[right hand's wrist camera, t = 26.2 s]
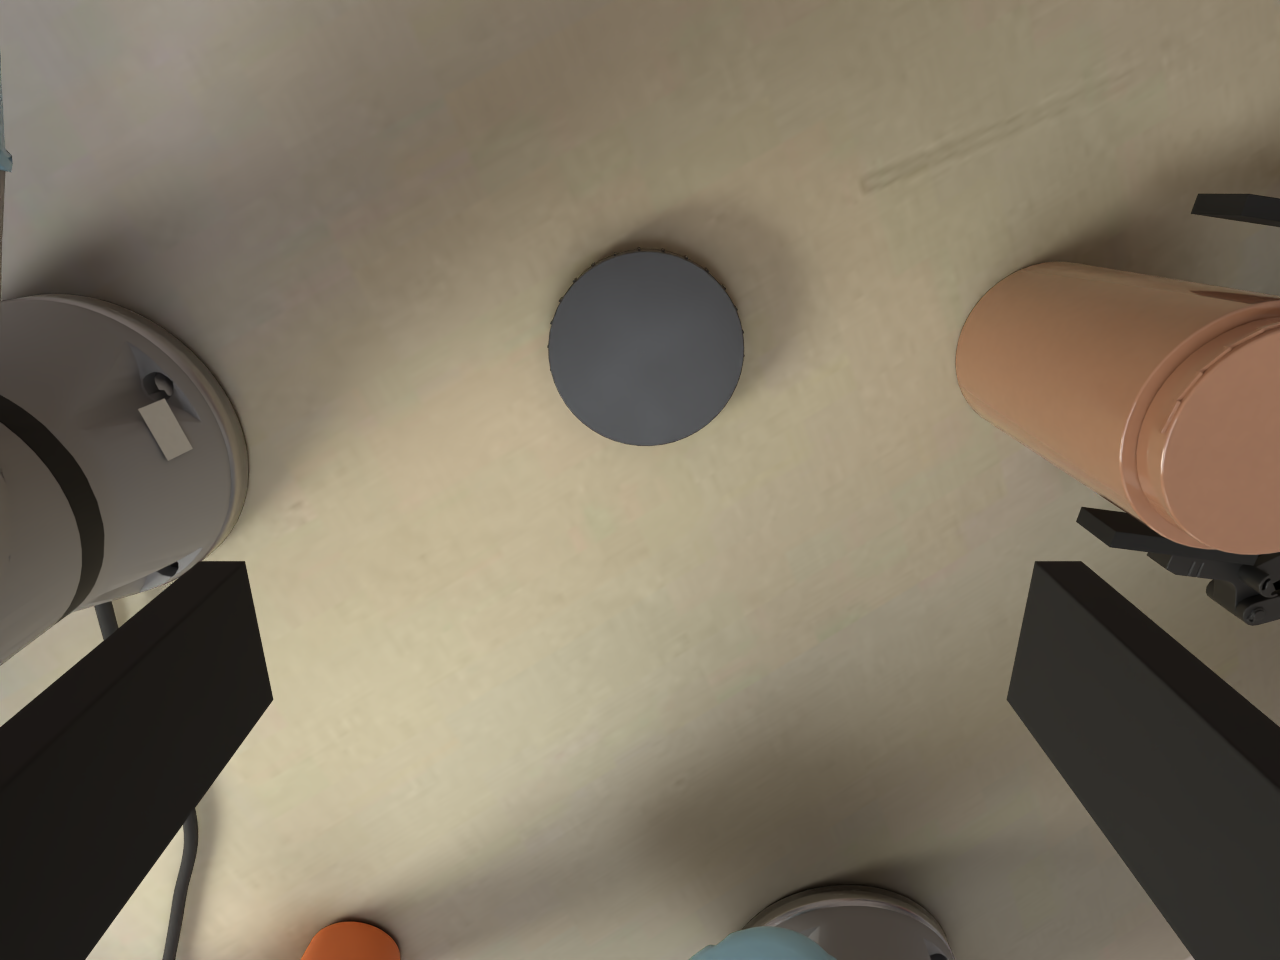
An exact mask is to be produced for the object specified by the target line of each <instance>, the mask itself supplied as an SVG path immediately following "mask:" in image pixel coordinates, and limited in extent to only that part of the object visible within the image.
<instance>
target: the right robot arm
mask: <svg viewBox="0 0 1280 960" xmlns="http://www.w3.org/2000/svg"><path fill="white" fill-rule="evenodd" d="M12 165H13V163H12V155H11V154H10V153H9V152H8V151H7V150H6V149H5V139H4V121H3V102H2V83H1V55H0V665H2V664H3V663H4V662H6V661H7V660H8V659H10V658H11V657H12V656H14V655H15V654H16V653H17V652H19V651H20V650H21V649H23V648H24V647H25V646H27V645H28V644H29V643H31V642H32V641H33V640H35V639H36V638H37V637H39V636H40V635H41V634H43V633H44V632H46V631H47V630H48V629H50V628H51V627H52V626H53V625H55V624H56V623H57V622H59V621H60V620H61V619H63V618H64V617H66V616H67V615H68V614H70V613H71V612H74V611H78V610H81V609H85V608H88V607H92V606H94V607H95V610H96V614H97V618H98V621H99V625H100V628H101V632H102V636H103V639H104V641H103V642H102V643H101V644H99V645H98V646H97V647H96V648H95V649H93V650H92V651H91V652H90V653H89V654H87V655H86V656H85V657H84V658H83V659H81V660H80V661H79V662H78V663H77V664H75V665H74V666H73V667H72V668H71V669H69V670H68V671H67V672H66V673H65V674H63V675H62V676H61V677H60V678H59V679H57V680H56V681H55V682H54V683H53V684H51V685H50V686H49V687H48V688H47V689H45V690H44V691H43V692H42V693H41V694H40V695H38V696H37V697H36V698H35V699H34V700H32V701H31V702H30V703H29V704H28V705H26V706H25V707H24V708H23V709H22V710H20V711H19V712H18V713H17V714H16V715H14V716H13V717H12V718H11V719H10V720H8V721H7V722H6V723H5V724H4V725H2V726H1V727H0V960H85V959H86V958H87V956H88V955H89V954H90V952H91V951H92V950H93V948H94V947H95V945H96V944H97V943H98V941H99V940H100V938H101V937H102V936H103V934H104V933H105V932H106V930H107V929H108V927H109V926H110V925H111V923H112V922H113V920H114V919H115V918H116V916H117V915H118V914H119V912H120V911H121V909H122V908H123V907H124V905H125V904H126V903H127V901H128V900H129V898H130V897H131V896H132V894H133V893H134V891H135V890H136V889H137V887H138V886H139V885H140V883H141V882H142V880H143V879H144V878H145V876H146V875H147V873H148V872H149V871H150V869H151V868H152V867H153V865H154V864H155V862H156V861H157V860H158V858H159V857H160V856H161V854H162V853H163V851H164V850H165V849H166V847H167V846H168V844H169V843H170V842H171V840H172V839H173V838H174V836H175V835H176V833H177V832H178V831H179V829H180V828H181V826H182V825H183V829H184V849H183V856H182V862H181V866H180V870H179V874H178V878H177V882H176V886H175V890H174V895H173V901H172V907H171V914H170V921H169V927H168V933H167V938H166V944H165V949H164V955H163V960H175V957H176V952H177V947H178V941H179V936H180V931H181V925H182V920H183V914H184V907H185V901H186V895H187V890H188V885H189V881H190V877H191V874H192V870H193V866H194V862H195V857H196V852H197V846H198V822H197V816H196V810H195V807H196V806H197V804H198V803H199V802H200V800H201V799H202V797H203V796H204V795H205V793H206V792H207V791H208V789H209V788H210V786H211V785H212V784H213V782H214V781H215V779H216V778H217V777H218V775H219V774H220V773H221V771H222V770H223V768H224V767H225V766H226V764H227V763H228V762H229V760H230V759H231V757H232V756H233V755H234V753H235V752H236V750H237V749H238V748H239V746H240V745H241V744H242V742H243V741H244V739H245V738H246V737H247V735H248V734H249V732H250V731H251V730H252V728H253V727H254V726H255V724H256V723H257V721H258V720H259V719H260V717H261V716H262V715H263V713H264V712H265V710H266V709H267V708H268V706H269V705H270V703H271V702H272V701H273V696H272V691H271V686H270V681H269V677H268V672H267V667H266V662H265V657H264V652H263V647H262V642H261V637H260V633H259V628H258V623H257V618H256V613H255V608H254V603H253V598H252V594H251V589H250V584H249V579H248V574H247V569H246V564H245V561H202V560H203V559H205V558H206V557H207V556H208V555H209V554H211V553H212V552H213V551H214V550H215V549H216V548H217V547H218V546H219V545H220V544H221V543H222V542H223V541H224V540H225V539H226V537H227V536H228V535H229V533H230V532H231V530H232V529H233V527H234V525H235V524H236V522H237V520H238V518H239V515H240V513H241V511H242V508H243V504H244V501H245V498H246V492H247V486H248V457H247V450H246V444H245V440H244V436H243V432H242V429H241V426H240V424H239V421H238V418H237V416H236V413H235V411H234V409H233V407H232V405H231V403H230V401H229V399H228V397H227V396H226V394H225V392H224V391H223V389H222V387H221V386H220V385H219V383H218V382H217V380H216V379H215V377H214V376H213V375H212V373H211V372H210V371H209V370H208V369H207V367H206V366H205V365H204V364H203V363H202V362H201V361H200V360H199V358H198V357H197V356H196V355H195V354H194V353H193V352H192V351H191V350H190V349H188V348H187V347H186V346H185V345H184V344H183V343H182V342H180V341H179V340H178V339H177V338H175V337H174V336H173V335H171V334H170V333H169V332H167V331H166V330H165V329H163V328H162V327H160V326H158V325H157V324H155V323H154V322H152V321H151V320H149V319H147V318H145V317H143V316H141V315H139V314H137V313H135V312H133V311H131V310H128V309H126V308H124V307H121V306H119V305H116V304H113V303H110V302H107V301H103V300H99V299H95V298H91V297H86V296H79V295H72V294H42V295H34V296H28V297H22V298H16V299H11V300H5V301H1V268H2V234H3V212H4V189H5V171H9V172H11V170H12ZM179 577H180V578H179ZM177 578H178V579H177ZM175 579H177V580H176V581H175V582H174V583H172V584H171V585H170V586H169V587H168V588H166V589H165V590H164V591H163V592H162V593H160V594H159V595H158V596H157V597H156V598H154V599H153V600H152V601H151V602H150V603H148V604H147V605H146V606H145V607H144V608H142V609H141V610H140V611H139V612H138V613H136V614H135V615H134V616H133V617H132V618H130V619H129V620H128V621H127V622H126V623H124V624H123V625H122V626H121V627H120V628H118V624H117V621H116V617H115V613H114V609H113V605H112V602H111V601H113V600H116V599H120V598H123V597H127V596H130V595H134V594H137V593H140V592H143V591H147V590H150V589H153V588H156V587H158V586H161V585H164V584H167V583H169V582H171V581H173V580H175ZM1007 701H1008V702H1009V703H1010V705H1011V706H1012V708H1013V709H1014V710H1015V712H1016V713H1017V715H1018V716H1019V717H1020V719H1021V720H1022V721H1023V723H1024V724H1025V726H1026V727H1027V728H1028V730H1029V731H1030V732H1031V734H1032V735H1033V737H1034V738H1035V739H1036V741H1037V742H1038V744H1039V745H1040V746H1041V748H1042V749H1043V750H1044V752H1045V753H1046V755H1047V756H1048V757H1049V759H1050V760H1051V762H1052V763H1053V764H1054V766H1055V767H1056V768H1057V770H1058V771H1059V773H1060V774H1061V775H1062V777H1063V778H1064V779H1065V781H1066V782H1067V784H1068V785H1069V786H1070V788H1071V789H1072V791H1073V792H1074V793H1075V795H1076V796H1077V797H1078V799H1079V800H1080V802H1081V803H1082V804H1083V806H1084V807H1085V809H1086V810H1087V811H1088V813H1089V814H1090V815H1091V817H1092V818H1093V820H1094V821H1095V822H1096V824H1097V825H1098V826H1099V828H1100V829H1101V831H1102V832H1103V833H1104V835H1105V836H1106V838H1107V839H1108V840H1109V842H1110V843H1111V844H1112V846H1113V847H1114V849H1115V850H1116V851H1117V853H1118V854H1119V856H1120V857H1121V858H1122V860H1123V861H1124V862H1125V864H1126V865H1127V867H1128V868H1129V869H1130V871H1131V872H1132V873H1133V875H1134V876H1135V878H1136V879H1137V880H1138V882H1139V883H1140V885H1141V886H1142V887H1143V889H1144V890H1145V891H1146V893H1147V894H1148V896H1149V897H1150V898H1151V900H1152V901H1153V903H1154V904H1155V905H1156V907H1157V908H1158V909H1159V911H1160V912H1161V914H1162V915H1163V916H1164V918H1165V919H1166V920H1167V922H1168V923H1169V925H1170V926H1171V927H1172V929H1173V930H1174V932H1175V933H1176V934H1177V936H1178V937H1179V938H1180V940H1181V941H1182V943H1183V944H1184V945H1185V947H1186V948H1187V950H1188V951H1189V952H1190V954H1191V955H1192V956H1193V958H1194V959H1195V960H1280V727H1279V726H1278V725H1276V724H1275V723H1274V722H1273V721H1272V720H1270V719H1269V718H1268V717H1267V716H1266V715H1264V714H1263V713H1262V712H1261V711H1260V710H1258V709H1257V708H1256V707H1255V706H1254V705H1252V704H1251V703H1250V702H1249V701H1248V700H1246V699H1245V698H1244V697H1243V696H1242V695H1240V694H1239V693H1238V692H1237V691H1236V690H1235V689H1233V688H1232V687H1231V686H1230V685H1229V684H1227V683H1226V682H1225V681H1224V680H1223V679H1221V678H1220V677H1219V676H1218V675H1217V674H1215V673H1214V672H1213V671H1212V670H1211V669H1209V668H1208V667H1207V666H1206V665H1205V664H1203V663H1202V662H1201V661H1200V660H1199V659H1197V658H1196V657H1195V656H1194V655H1193V654H1191V653H1190V652H1189V651H1188V650H1187V649H1185V648H1184V647H1183V646H1182V645H1181V644H1179V643H1178V642H1177V641H1176V640H1175V639H1173V638H1172V637H1171V636H1170V635H1169V634H1168V633H1166V632H1165V631H1164V630H1163V629H1162V628H1160V627H1159V626H1158V625H1157V624H1156V623H1154V622H1153V621H1152V620H1151V619H1150V618H1148V617H1147V616H1146V615H1145V614H1144V613H1142V612H1141V611H1140V610H1139V609H1138V608H1136V607H1135V606H1134V605H1133V604H1132V603H1130V602H1129V601H1128V600H1127V599H1126V598H1124V597H1123V596H1122V595H1121V594H1120V593H1118V592H1117V591H1116V590H1115V589H1114V588H1112V587H1111V586H1110V585H1109V584H1108V583H1106V582H1105V581H1104V580H1103V579H1102V578H1100V577H1099V576H1098V575H1097V574H1096V573H1095V572H1093V571H1092V570H1091V569H1090V568H1089V567H1087V566H1086V565H1085V564H1084V563H1083V562H1081V561H1035V564H1034V569H1033V574H1032V579H1031V584H1030V589H1029V593H1028V598H1027V603H1026V608H1025V613H1024V618H1023V623H1022V628H1021V633H1020V637H1019V642H1018V647H1017V652H1016V657H1015V662H1014V667H1013V672H1012V676H1011V681H1010V686H1009V691H1008V696H1007Z"/></svg>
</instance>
